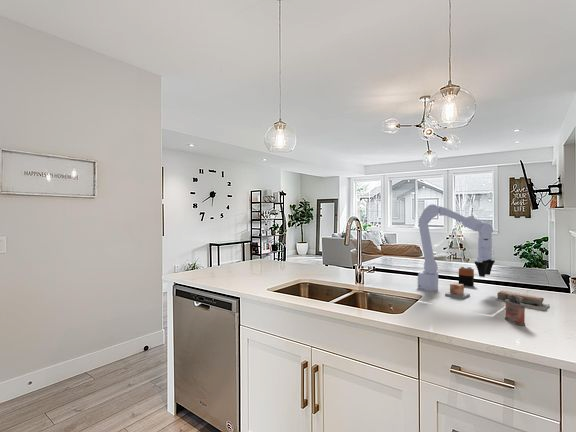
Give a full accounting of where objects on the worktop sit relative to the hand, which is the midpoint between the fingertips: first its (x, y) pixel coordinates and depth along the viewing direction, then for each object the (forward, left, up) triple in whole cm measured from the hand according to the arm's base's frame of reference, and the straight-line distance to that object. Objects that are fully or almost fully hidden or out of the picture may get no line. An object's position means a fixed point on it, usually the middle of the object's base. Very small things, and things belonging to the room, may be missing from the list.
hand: (484, 275), depth 162 cm
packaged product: (+16, -5, -10) cm, 20 cm away
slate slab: (-7, -15, -9) cm, 19 cm away
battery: (-14, +16, -10) cm, 23 cm away
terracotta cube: (-7, -15, -8) cm, 18 cm away
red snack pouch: (+21, -36, -10) cm, 43 cm away
